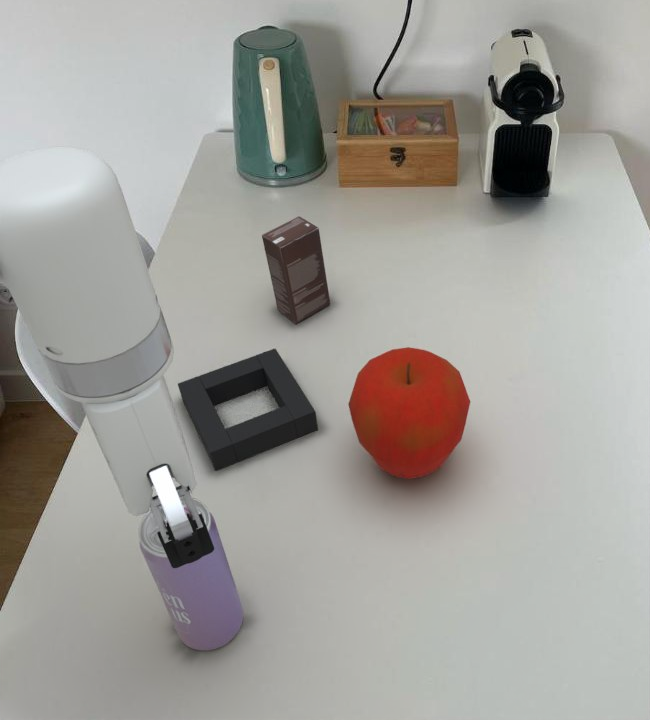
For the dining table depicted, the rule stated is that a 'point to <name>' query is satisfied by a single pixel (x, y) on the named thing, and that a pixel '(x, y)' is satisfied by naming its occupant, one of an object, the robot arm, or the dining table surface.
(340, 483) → the dining table surface
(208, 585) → the beverage can
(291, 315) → the box
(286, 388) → the socket pad
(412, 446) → the apple
